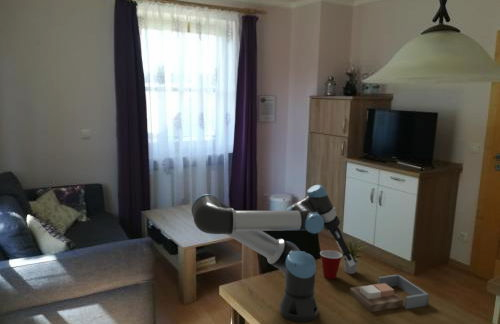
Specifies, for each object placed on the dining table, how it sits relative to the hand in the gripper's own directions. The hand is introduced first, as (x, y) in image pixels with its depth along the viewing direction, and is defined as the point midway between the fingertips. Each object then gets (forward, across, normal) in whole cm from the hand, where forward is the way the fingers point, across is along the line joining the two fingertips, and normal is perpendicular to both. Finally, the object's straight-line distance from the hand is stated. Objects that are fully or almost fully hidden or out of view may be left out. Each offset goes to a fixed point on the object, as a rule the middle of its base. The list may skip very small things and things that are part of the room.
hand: (347, 257), depth 171 cm
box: (+24, -7, -14) cm, 29 cm away
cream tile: (+14, -11, -1) cm, 18 cm away
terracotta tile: (+17, -9, -7) cm, 20 cm away
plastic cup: (+13, +12, +11) cm, 21 cm away
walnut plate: (+18, -10, -2) cm, 21 cm away
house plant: (+20, +17, 0) cm, 26 cm away
